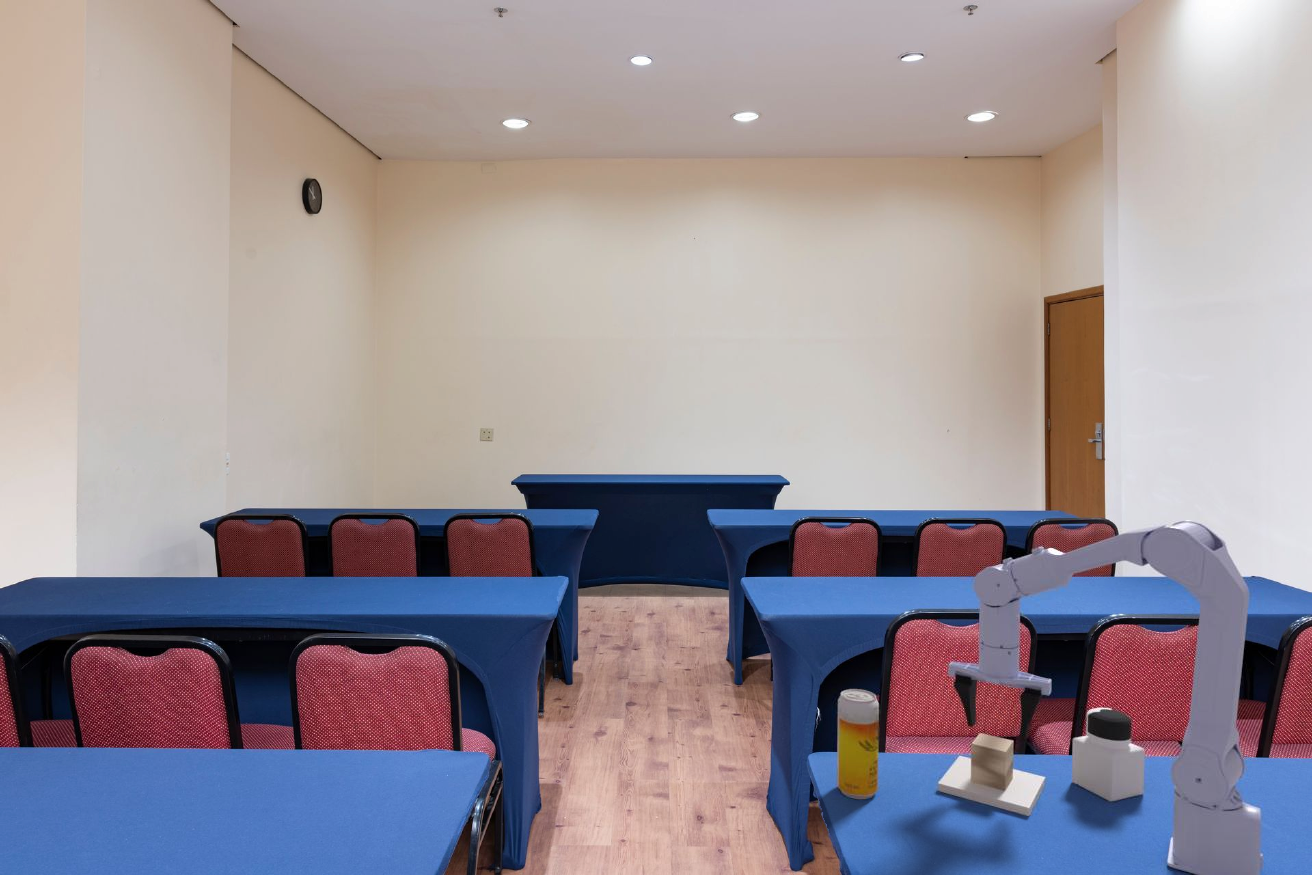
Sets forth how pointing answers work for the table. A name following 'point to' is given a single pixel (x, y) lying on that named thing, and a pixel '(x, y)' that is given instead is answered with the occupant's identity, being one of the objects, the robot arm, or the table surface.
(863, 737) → the beer can
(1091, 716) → the medicine bottle
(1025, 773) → the white board
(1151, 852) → the table surface
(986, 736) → the maple block
